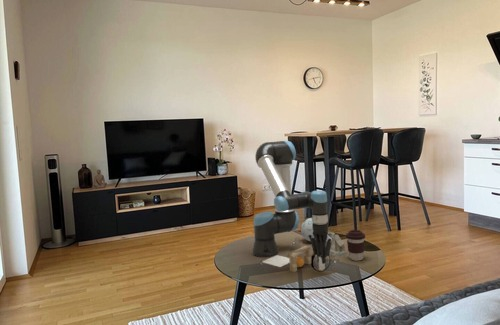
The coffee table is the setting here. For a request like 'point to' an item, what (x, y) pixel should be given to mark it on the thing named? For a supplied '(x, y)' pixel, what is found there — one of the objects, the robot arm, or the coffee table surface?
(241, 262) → the coffee table surface
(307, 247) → the bridge
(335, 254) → the ceramic cottage
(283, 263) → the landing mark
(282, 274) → the coffee table surface
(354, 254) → the coffee cup
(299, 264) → the ball
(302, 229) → the puzzle ball
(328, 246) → the robot arm
